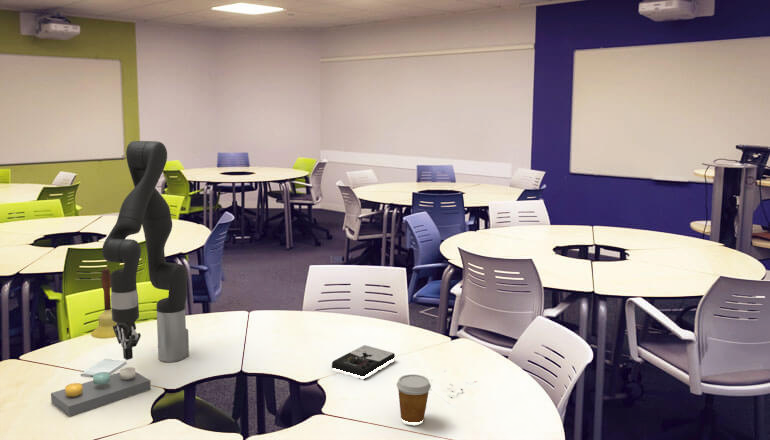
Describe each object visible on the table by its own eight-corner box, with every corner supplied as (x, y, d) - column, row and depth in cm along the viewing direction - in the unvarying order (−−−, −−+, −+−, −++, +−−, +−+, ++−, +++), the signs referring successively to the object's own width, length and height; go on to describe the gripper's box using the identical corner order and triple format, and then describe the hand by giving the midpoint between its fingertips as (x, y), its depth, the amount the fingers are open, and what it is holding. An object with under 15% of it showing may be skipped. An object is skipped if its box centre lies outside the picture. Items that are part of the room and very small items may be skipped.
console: (131, 377, 198) (130, 369, 198) (150, 389, 191) (150, 380, 190) (51, 402, 181) (50, 393, 180) (69, 416, 173) (68, 406, 172)
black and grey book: (331, 371, 209) (331, 357, 208) (364, 354, 225) (364, 340, 224) (363, 381, 202) (363, 367, 201) (395, 362, 218) (395, 349, 217)
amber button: (78, 388, 182) (78, 381, 182) (85, 392, 179) (85, 386, 179) (62, 392, 179) (62, 386, 178) (69, 397, 176) (69, 391, 176)
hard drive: (104, 358, 211) (80, 372, 199) (126, 360, 209) (103, 375, 197) (104, 363, 211) (80, 377, 199) (126, 365, 209) (103, 380, 197)
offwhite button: (131, 372, 194) (130, 366, 194) (138, 376, 191) (138, 370, 191) (117, 376, 191) (117, 370, 190) (124, 380, 188) (124, 374, 188)
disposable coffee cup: (427, 413, 181) (429, 373, 179) (430, 429, 172) (432, 388, 170) (394, 412, 181) (395, 373, 179) (396, 429, 171) (397, 388, 169)
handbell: (93, 328, 241) (90, 265, 237) (127, 326, 245) (125, 264, 241) (88, 339, 230) (85, 273, 225) (124, 337, 233) (122, 272, 229)
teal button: (105, 377, 188) (105, 370, 188) (112, 381, 185) (112, 375, 185) (90, 381, 185) (90, 375, 184) (97, 386, 182) (97, 379, 181)
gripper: (148, 306, 186) (151, 361, 189) (126, 296, 194) (129, 349, 197) (123, 312, 180) (127, 368, 183) (102, 302, 188) (105, 356, 192)
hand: (128, 358), depth 190 cm, fingers closed
